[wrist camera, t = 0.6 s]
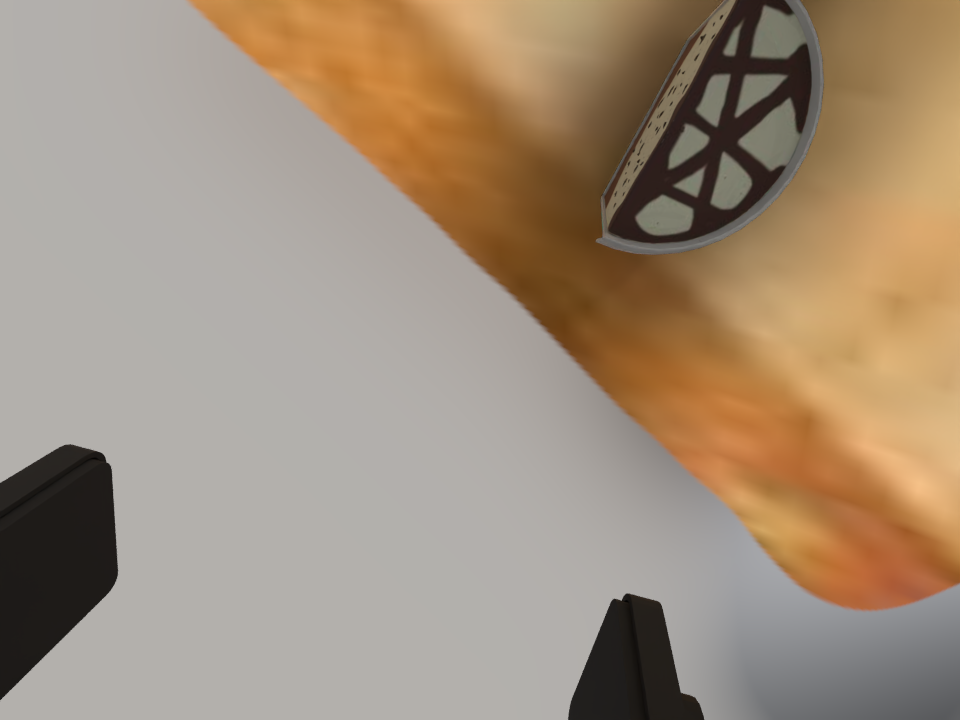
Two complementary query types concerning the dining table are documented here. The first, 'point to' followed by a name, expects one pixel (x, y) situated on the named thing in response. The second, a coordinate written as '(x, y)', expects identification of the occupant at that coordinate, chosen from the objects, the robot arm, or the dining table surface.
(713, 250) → the dining table surface
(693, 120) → the food container
